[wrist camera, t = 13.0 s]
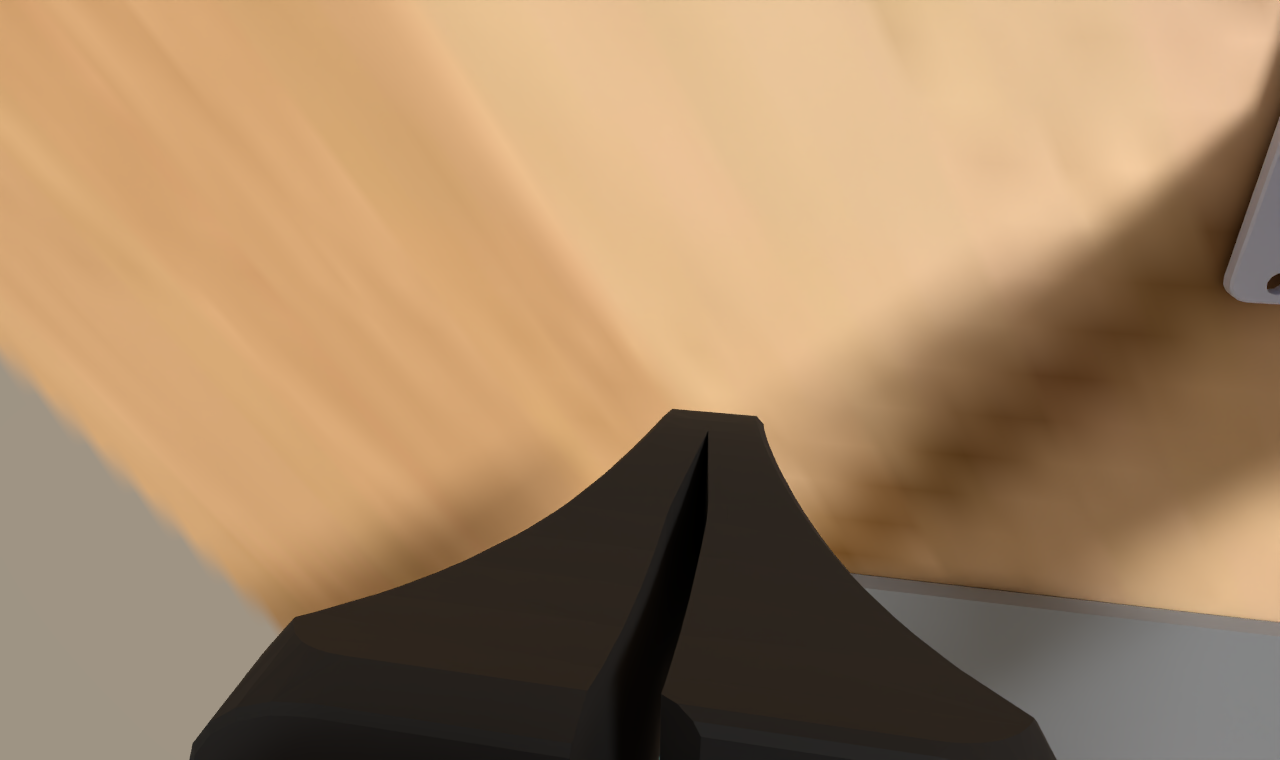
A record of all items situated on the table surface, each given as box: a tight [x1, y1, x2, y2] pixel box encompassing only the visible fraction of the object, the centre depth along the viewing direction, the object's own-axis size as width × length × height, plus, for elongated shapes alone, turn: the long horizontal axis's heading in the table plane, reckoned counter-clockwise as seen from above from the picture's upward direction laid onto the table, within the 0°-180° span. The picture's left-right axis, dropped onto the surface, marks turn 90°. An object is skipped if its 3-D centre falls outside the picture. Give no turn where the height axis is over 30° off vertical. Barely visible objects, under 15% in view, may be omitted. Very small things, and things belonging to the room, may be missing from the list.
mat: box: [850, 573, 1280, 760], centre depth 26 cm, size 22×13×1 cm, turn 90°
